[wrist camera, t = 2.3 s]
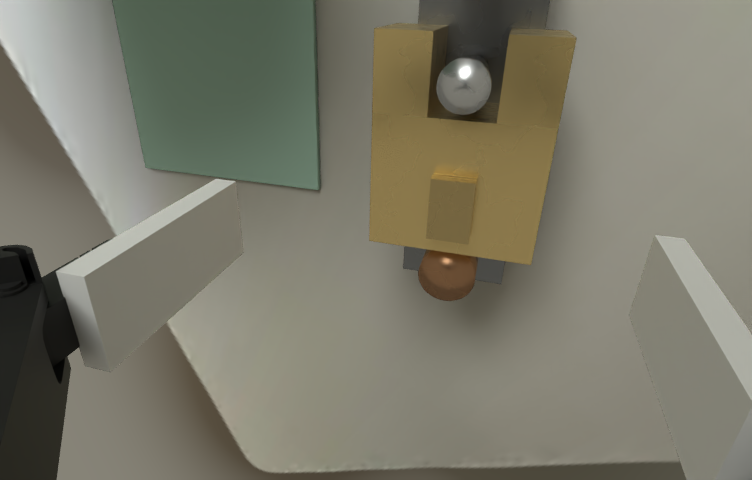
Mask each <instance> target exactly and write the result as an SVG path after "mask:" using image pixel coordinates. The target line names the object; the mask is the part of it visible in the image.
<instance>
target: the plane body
mask: <svg viewBox="0 0 752 480" xmlns="http://www.w3.org/2000/svg"><path fill="white" fill-rule="evenodd" d="M549 3H550V0H420V3H419V19H418V24H431V25H449V26H448V37H447V48H446V60H445V68H444V69H443V70H442V71H441V73H440V75H439V77H438V80H437V85H436V90H437V96H438V98H439V101H440V102H441V104H442V105H443V106H444V107H445V108H446V109H447V110H448V111H450V112H452V113H455V114H459V115H467V114H471V113H474V112H476V111H477V110H479V109H480V108H481V107H482V106H483V105H484V104H485V103H486V102H488V103H500V97H501V89H502V82H503V75H504V68H505V61H506V54H507V47H508V40H509V34H510V31H511V29H512V28H520V29H543V30H545V26H546V20H547V14H548V9H549ZM504 264H505V261H501V260H494V259H488V258H481V257H474V256H468V255H461V254H455V253H448V252H441V251H435V250H428V249H421V248H415V247H408V246H405V248H404V264H403V268H404V269H410V270H417V271H419V272H418V276H419V281H420V283H421V285H422V287H423V288H424V290H425V291H426V292H427V293H429V294H430V295H431V296H433V297H435V298H437V299H440V300H446V301H453V300H458V299H461V298H463V297H465V296H466V295H467V294H468V293H469V292H470V291H471V290H472V288H473V286H474V282H475V280H479V281H485V282H491V283H497V284H501V282H502V276H503V270H504Z"/></svg>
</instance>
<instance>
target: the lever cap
mask: <svg viewBox="0 0 752 480" xmlns="http://www.w3.org/2000/svg"><path fill="white" fill-rule="evenodd" d="M448 26H449V25H431V24H409V23H396V24H392V25H387V26H382V27H378V28H374V62H373V105H372V148H371V192H370V235H369V241H375V242H381V243H388V244H395V245H401V246H408V247H415V248H421V249H428V250H435V251H441V252H448V253H455V254H461V255H468V256H474V257H481V258H488V259H494V260H501V261H508V262H514V263H521V264H528V265H531V262H532V257H533V252H534V247H535V242H536V237H537V232H538V227H539V222H540V217H541V212H542V207H543V202H544V197H545V193H546V188H547V183H548V178H549V173H550V168H551V163H552V158H553V153H554V148H555V143H556V138H557V133H558V128H559V123H560V118H561V113H562V108H563V103H564V98H565V93H566V88H567V83H568V78H569V73H570V68H571V63H572V58H573V53H574V48H575V43H576V37H575V36H574V35H572V34H571V33H570V32H569V31H565V30H543V29H520V28H512V29H511V31H510V34H509V40H508V47H507V54H506V61H505V68H504V75H503V82H502V89H501V97H500V103H488V102H486V103H485V104H484V105H483V106H482V107H481V108H480V109H479V110H477V111H476V112H474V113H471V114H467V115H459V114H455V113H452V112H450V111H448V110H447V109H446V108H445V107H444V106H443V105H442V104H441V102H440V101H439V98H438V96H437V90H436V85H437V80H438V77H439V75H440V73H441V71H442V70H443V69H444V68H445V60H446V48H447V37H448Z"/></svg>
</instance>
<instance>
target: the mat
mask: <svg viewBox="0 0 752 480" xmlns="http://www.w3.org/2000/svg"><path fill="white" fill-rule="evenodd" d="M112 2H113V7H114V12H115V17H116V22H117V27H118V32H119V37H120V42H121V47H122V52H123V57H124V62H125V67H126V72H127V77H128V82H129V87H130V92H131V97H132V102H133V107H134V112H135V117H136V122H137V127H138V132H139V137H140V142H141V147H142V152H143V157H144V162H145V167H146V168H151V169H159V170H167V171H175V172H182V173H190V174H198V175H205V176H213V177H221V178H229V179H236V180H244V181H252V182H260V183H267V184H275V185H283V186H291V187H298V188H306V189H314V190H319V189H320V154H319V118H318V82H317V46H316V9H315V0H112Z"/></svg>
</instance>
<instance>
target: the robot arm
mask: <svg viewBox="0 0 752 480" xmlns="http://www.w3.org/2000/svg"><path fill="white" fill-rule="evenodd" d="M242 253H243V243H242V234H241V224H240V215H239V205H238V196H237V186H236V181H229V180H221V179H215V180H213V181H211V182H210V183H208V184H206V185H204V186H203V187H201V188H199V189H198V190H196V191H194V192H192V193H191V194H189V195H187V196H185V197H184V198H182V199H180V200H179V201H177V202H175V203H173V204H172V205H170V206H168V207H166V208H165V209H163V210H161V211H159V212H158V213H156V214H154V215H153V216H151V217H149V218H147V219H146V220H144V221H142V222H140V223H139V224H137V225H135V226H134V227H132V228H130V229H128V230H127V231H125V232H123V233H121V234H120V235H118V236H116V237H115V238H112V239H110V240H107V241H105V242H103V243H101V244H99V245H98V246H96V247H94V248H93V249H92V251H87V252H86V253H84V254H82V255H80V258H75V259H74V260H72V261H70V262H68V263H66V264H65V265H63V266H61V267H59V268H58V269H56V270H54V271H52V272H51V273H49V274H47V275H46V276H44V277H42V278H41V275H40V272H39V269H38V266H37V262H36V260H35V257H34V254H33V250H32V248H30V247H27V246H23V245H8V246H1V247H0V480H56V478H57V471H58V463H59V456H60V447H61V440H62V433H63V432H62V431H63V425H64V417H65V409H66V402H67V394H68V386H69V378H70V370H71V367H70V363H69V360H68V357H67V356H68V355H69V354H71V353H72V352H73V351H75V350H76V349H77V348H78V347H79V348H80V352H81V355H82V358H83V361H84V365H85V366H87V367H91V368H95V369H99V370H103V371H108V372H112V371H113V370H114V369H115V368H116V367H117V366H118V365H119V364H120V363H122V362H123V361H124V360H125V359H126V358H127V357H128V356H129V355H130V354H132V353H133V352H134V351H135V350H136V349H137V348H138V347H139V346H140V345H141V344H143V343H144V342H145V341H146V340H147V339H148V338H149V337H150V336H151V335H153V334H154V333H155V332H156V331H157V330H158V329H159V328H160V327H161V326H163V325H164V324H165V323H166V322H167V321H168V320H169V319H170V318H171V317H173V316H174V315H175V314H176V313H177V312H178V311H179V310H180V309H181V308H182V307H184V306H185V305H186V304H187V303H188V302H189V301H190V300H191V299H192V298H194V297H195V296H196V295H197V294H198V293H199V292H200V291H201V290H202V289H204V288H205V287H206V286H207V285H208V284H209V283H210V282H211V281H212V280H214V279H215V278H216V277H217V276H218V275H219V274H220V273H221V272H222V271H224V270H225V269H226V268H227V267H228V266H229V265H230V264H231V263H232V262H233V261H235V260H236V259H237V258H238V257H239V256H240V255H241V254H242ZM629 316H630V319H631V322H632V325H633V328H634V331H635V334H636V337H637V339H638V342H639V345H640V348H641V351H642V354H643V357H644V359H645V362H646V365H647V368H648V371H649V374H650V377H651V379H652V382H653V385H654V388H655V391H656V394H657V397H658V399H659V402H660V405H661V408H662V411H663V414H664V417H665V419H666V422H667V425H668V428H669V431H670V434H671V437H672V439H673V442H674V445H675V448H676V451H677V454H678V457H679V459H680V462H681V465H682V468H683V471H684V474H685V476H686V479H687V480H752V334H751V332H750V331H749V330H748V328H747V327H746V325H745V324H744V322H743V321H742V320H741V318H740V317H739V315H738V314H737V312H736V311H735V310H734V308H733V307H732V305H731V304H730V302H729V301H728V300H727V298H726V297H725V295H724V294H723V292H722V291H721V290H720V288H719V287H718V285H717V284H716V282H715V281H714V280H713V278H712V277H711V275H710V274H709V272H708V271H707V270H706V268H705V267H704V265H703V264H702V262H701V261H700V260H699V258H698V257H697V255H696V254H695V252H694V251H693V250H692V248H691V247H690V245H689V244H688V242H687V241H686V240H685V239H683V238H676V237H668V236H660V235H655V236H654V239H653V242H652V245H651V249H650V252H649V255H648V258H647V261H646V264H645V267H644V270H643V273H642V277H641V280H640V283H639V286H638V289H637V292H636V295H635V298H634V301H633V304H632V308H631V311H630V314H629Z"/></svg>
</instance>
